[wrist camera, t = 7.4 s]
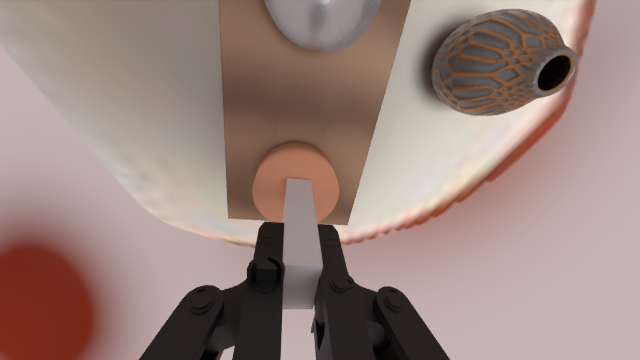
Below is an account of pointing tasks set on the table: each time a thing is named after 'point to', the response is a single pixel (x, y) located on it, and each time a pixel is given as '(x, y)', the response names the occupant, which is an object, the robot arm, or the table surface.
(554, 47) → the vase
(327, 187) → the terracotta plunger
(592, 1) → the table surface
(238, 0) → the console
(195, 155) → the table surface
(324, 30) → the grey plunger
